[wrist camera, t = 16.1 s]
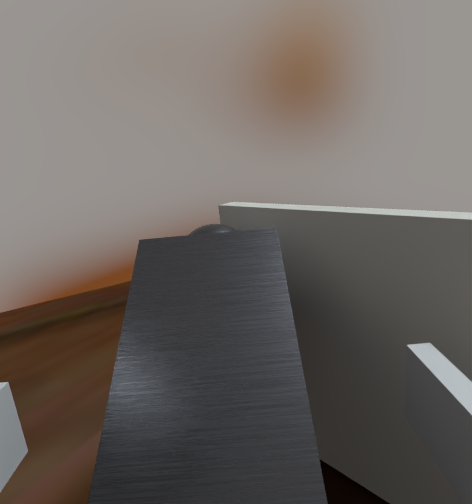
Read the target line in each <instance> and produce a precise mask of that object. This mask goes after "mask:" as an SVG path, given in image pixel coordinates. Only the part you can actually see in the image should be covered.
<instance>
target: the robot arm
mask: <svg viewBox="0 0 472 504" xmlns="http://www.w3.org/2000/svg"><path fill="white" fill-rule="evenodd" d="M405 418H406V419H407V421H408V422H409V424H410V425H411V427H412V428H413V430H414V431H415V433H416V434H417V436H418V437H419V439H420V440H421V442H422V443H423V445H424V446H425V448H426V449H427V451H428V452H429V454H430V455H431V457H432V458H433V460H434V461H435V463H436V464H437V466H438V467H439V469H440V470H441V472H442V473H443V475H444V476H445V478H446V479H447V481H448V482H449V484H450V485H451V487H452V488H453V490H454V491H455V493H456V494H457V496H458V497H459V499H460V500H461V502H462V503H463V504H472V382H471V381H470V380H469V379H468V378H467V377H466V376H465V375H464V374H463V373H462V372H461V371H460V370H458V369H457V368H456V367H455V366H454V365H453V364H452V363H451V362H450V361H449V360H448V359H447V358H446V357H445V356H444V355H443V354H441V353H440V352H439V351H438V350H437V349H436V348H435V347H434V346H433V345H432V344H431V343H421V344H410V345H407V347H406V385H405ZM27 452H28V449H27V446H26V442H25V439H24V435H23V432H22V428H21V425H20V421H19V418H18V414H17V411H16V407H15V404H14V400H13V397H12V393H11V390H10V386H9V383H8V382H3V383H0V492H1V490H2V489H3V487H4V486H5V485H6V483H7V482H8V480H9V479H10V477H11V476H12V474H13V473H14V471H15V470H16V468H17V467H18V465H19V464H20V462H21V461H22V459H23V458H24V456H25V455H26V453H27Z"/></svg>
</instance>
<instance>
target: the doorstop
mask: <svg viewBox="0 0 472 504" xmlns="http://www.w3.org/2000/svg"><path fill="white" fill-rule="evenodd" d="M88 504H328V503H327V497H326V492H325V487H324V481H323V476H322V470H321V465H320V459H319V454H318V449H317V443H316V438H315V432H314V427H313V421H312V416H311V411H310V405H309V400H308V394H307V389H306V383H305V378H304V373H303V367H302V362H301V356H300V351H299V345H298V340H297V335H296V329H295V324H294V318H293V313H292V307H291V302H290V297H289V291H288V286H287V280H286V275H285V270H284V264H283V259H282V253H281V248H280V242H279V237H278V232H277V227H275V228H264V229H253V230H242V231H237V230H236V229H234V228H232V227H229V226H226V225H221V224H210V225H206V226H202V227H199V228H198V229H196V230H194V231H193V232H191V233H190V234H189V235H188V236H177V237H166V238H155V239H144V240H139V245H138V250H137V255H136V260H135V265H134V270H133V275H132V280H131V285H130V290H129V296H128V301H127V306H126V311H125V316H124V321H123V326H122V331H121V336H120V342H119V347H118V352H117V357H116V362H115V367H114V372H113V377H112V382H111V388H110V393H109V398H108V403H107V408H106V413H105V418H104V423H103V429H102V434H101V439H100V444H99V449H98V454H97V459H96V464H95V469H94V475H93V480H92V485H91V490H90V495H89V500H88Z"/></svg>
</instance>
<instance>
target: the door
mask: <svg viewBox="0 0 472 504" xmlns="http://www.w3.org/2000/svg"><path fill="white" fill-rule="evenodd" d="M219 214H220V224H221V225H226V226H229V227H232V228H234V229H236V230H237V231H242V230H253V229H264V228H275V227H277V232H278V237H279V242H280V248H281V253H282V259H283V264H284V270H285V275H286V280H287V286H288V291H289V297H290V302H291V307H292V313H293V318H294V324H295V329H296V335H297V340H298V345H299V351H300V356H301V362H302V367H303V373H304V378H305V383H306V389H307V394H308V400H309V405H310V411H311V416H312V421H313V427H314V432H315V438H316V443H317V449H318V454H319V459H320V460H322V461H324V462H325V463H327V464H328V465H330V466H332V467H333V468H335V469H336V470H338V471H339V472H341V473H343V474H344V475H346V476H347V477H349V478H350V479H352V480H354V481H355V482H357V483H358V484H360V485H361V486H363V487H365V488H366V489H368V490H369V491H371V492H372V493H374V494H376V495H377V496H379V497H380V498H382V499H384V500H385V501H387V502H388V503H390V504H463V503H462V502H461V500H460V499H459V497H458V496H457V494H456V493H455V491H454V490H453V488H452V487H451V485H450V484H449V482H448V481H447V479H446V478H445V476H444V475H443V473H442V472H441V470H440V469H439V467H438V466H437V464H436V463H435V461H434V460H433V458H432V457H431V455H430V454H429V452H428V451H427V449H426V448H425V446H424V445H423V443H422V442H421V440H420V439H419V437H418V436H417V434H416V433H415V431H414V430H413V428H412V427H411V425H410V424H409V422H408V421H407V419H406V418H405V385H406V347H407V345H410V344H421V343H431V344H432V345H433V346H434V347H435V348H436V349H437V350H438V351H439V352H440V353H441V354H443V355H444V356H445V357H446V358H447V359H448V360H449V361H450V362H451V363H452V364H453V365H454V366H455V367H456V368H457V369H458V370H460V371H461V372H462V373H463V374H464V375H465V376H466V377H467V378H468V379H469V380H470V381H471V382H472V213H465V212H443V211H420V210H399V209H377V208H354V207H333V206H310V205H289V204H267V203H245V202H244V203H243V202H231V203H226V204H222V205H219Z"/></svg>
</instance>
